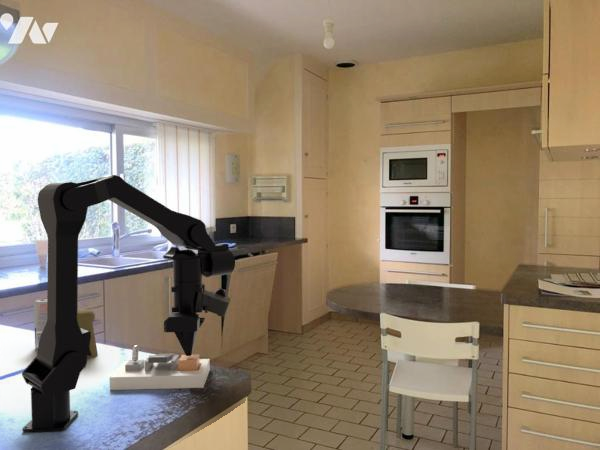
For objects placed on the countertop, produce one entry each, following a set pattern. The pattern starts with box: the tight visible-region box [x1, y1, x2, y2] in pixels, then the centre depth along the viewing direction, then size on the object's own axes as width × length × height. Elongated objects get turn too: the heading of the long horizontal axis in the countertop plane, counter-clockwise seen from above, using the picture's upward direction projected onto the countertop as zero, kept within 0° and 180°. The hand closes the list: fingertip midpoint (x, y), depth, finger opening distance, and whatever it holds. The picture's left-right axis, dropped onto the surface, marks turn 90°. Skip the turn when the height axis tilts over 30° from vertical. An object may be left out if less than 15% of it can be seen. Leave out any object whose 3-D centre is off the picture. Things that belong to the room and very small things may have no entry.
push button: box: [179, 354, 200, 371], centre depth 102 cm, size 4×4×3 cm
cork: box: [77, 308, 99, 360], centre depth 117 cm, size 6×6×11 cm
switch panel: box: [109, 354, 211, 391], centre depth 102 cm, size 10×18×4 cm, turn 93°
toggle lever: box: [131, 344, 140, 361], centre depth 102 cm, size 1×1×3 cm
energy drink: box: [33, 297, 47, 350], centre depth 124 cm, size 5×5×12 cm
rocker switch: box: [147, 353, 176, 363], centre depth 101 cm, size 8×4×1 cm, turn 3°
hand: (188, 355), depth 102 cm, fingers closed
